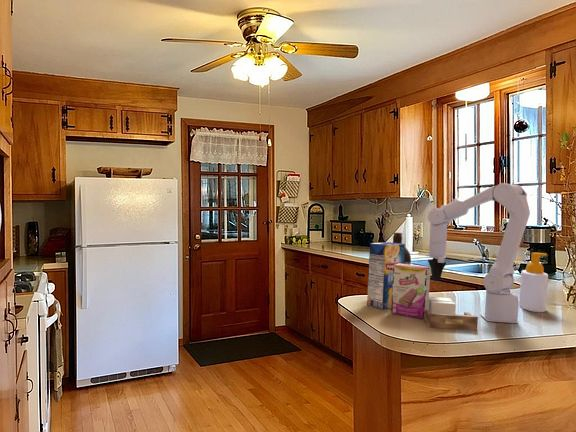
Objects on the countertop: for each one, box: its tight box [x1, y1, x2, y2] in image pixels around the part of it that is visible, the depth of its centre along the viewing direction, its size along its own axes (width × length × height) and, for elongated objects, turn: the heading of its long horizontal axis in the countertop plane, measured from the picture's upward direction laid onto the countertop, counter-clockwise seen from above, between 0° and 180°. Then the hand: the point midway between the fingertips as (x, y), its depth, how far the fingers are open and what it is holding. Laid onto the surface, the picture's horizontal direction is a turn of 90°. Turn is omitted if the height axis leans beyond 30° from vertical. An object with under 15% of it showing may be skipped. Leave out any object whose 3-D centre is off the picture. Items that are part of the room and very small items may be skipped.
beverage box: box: [366, 241, 406, 310], centre depth 168 cm, size 7×11×22 cm, turn 130°
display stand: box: [424, 310, 479, 332], centre depth 145 cm, size 14×10×4 cm
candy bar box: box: [390, 263, 431, 320], centre depth 155 cm, size 11×5×16 cm, turn 59°
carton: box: [428, 296, 456, 315], centre depth 160 cm, size 8×9×4 cm
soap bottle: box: [518, 252, 549, 313], centre depth 172 cm, size 13×8×20 cm, turn 168°
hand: (435, 280), depth 170 cm, fingers closed
